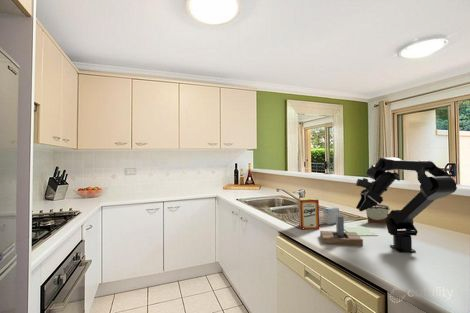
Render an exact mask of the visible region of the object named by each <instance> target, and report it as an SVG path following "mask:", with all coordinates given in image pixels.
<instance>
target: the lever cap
mask: <svg viewBox="0 0 470 313" xmlns="http://www.w3.org/2000/svg"><path fill="white" fill-rule="evenodd" d="M344 218H345V217H344V216H343V214H339V215H336V223H335V224H336V225H335V226H336V227H335V228H336V231H335V232H336V233H337V236H336V235H335V238H345V237H344V232H345V230H344V226H345V222H344V221H345V220H344Z"/></svg>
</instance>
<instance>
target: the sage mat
mask: <svg viewBox="0 0 470 313" xmlns="http://www.w3.org/2000/svg"><path fill="white" fill-rule="evenodd" d="M344 232H355V233H357V234H358V235H359V236H360V237H379V235H378V234H376V233H375V232H374V231H372V230H370V229H368V228H367V227H365V226H363V225H362V226H361V225H360V226H359V225H358V226H356V225H355V226H353V225H352V226H350V225H349V226H345V225H344Z"/></svg>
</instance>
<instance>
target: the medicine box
mask: <svg viewBox="0 0 470 313" xmlns="http://www.w3.org/2000/svg"><path fill="white" fill-rule="evenodd" d="M322 213H323V215H322V218H323V223H324V224H326V223H327V225H335V224H336V215H340V208H338V207H337V206H329V207H323V209H322Z"/></svg>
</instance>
